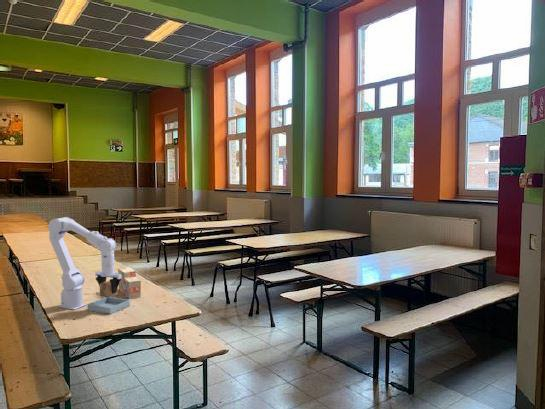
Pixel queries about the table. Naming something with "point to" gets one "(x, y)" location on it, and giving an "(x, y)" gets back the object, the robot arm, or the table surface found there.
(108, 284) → the walnut block
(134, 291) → the stack of blocks
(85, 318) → the table surface
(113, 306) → the tray
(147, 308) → the table surface
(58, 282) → the table surface
